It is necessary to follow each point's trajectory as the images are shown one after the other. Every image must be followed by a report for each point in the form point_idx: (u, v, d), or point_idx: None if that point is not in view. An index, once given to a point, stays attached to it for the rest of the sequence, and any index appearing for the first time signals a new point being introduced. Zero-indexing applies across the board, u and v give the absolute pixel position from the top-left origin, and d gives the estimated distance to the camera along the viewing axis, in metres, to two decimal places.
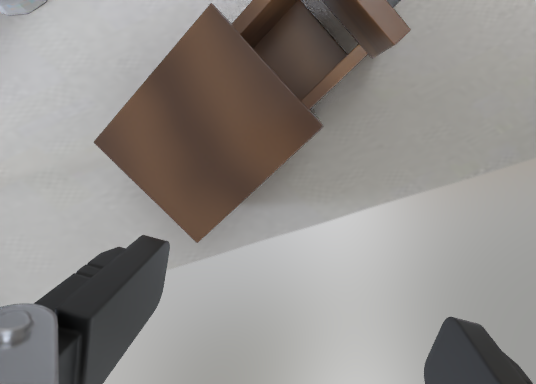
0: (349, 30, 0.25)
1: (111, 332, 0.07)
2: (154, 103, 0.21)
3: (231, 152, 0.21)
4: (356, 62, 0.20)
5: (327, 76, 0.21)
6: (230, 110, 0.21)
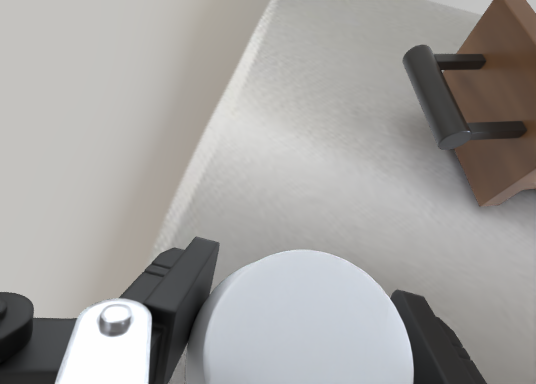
0: None
1: (182, 326, 0.08)
2: None
3: None
4: None
5: None
6: None
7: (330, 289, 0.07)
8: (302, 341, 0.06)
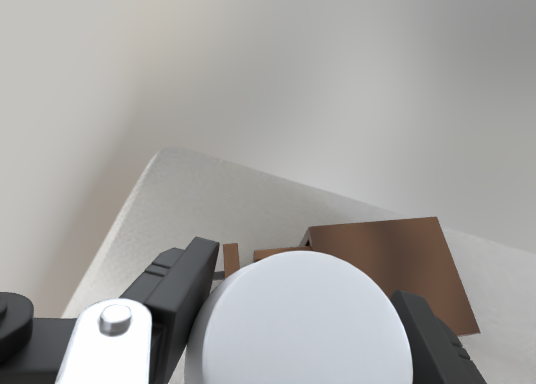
0: None
1: (182, 326, 0.08)
2: None
3: (377, 253, 0.28)
4: (263, 250, 0.28)
5: None
6: None
7: (329, 290, 0.07)
8: (301, 342, 0.06)
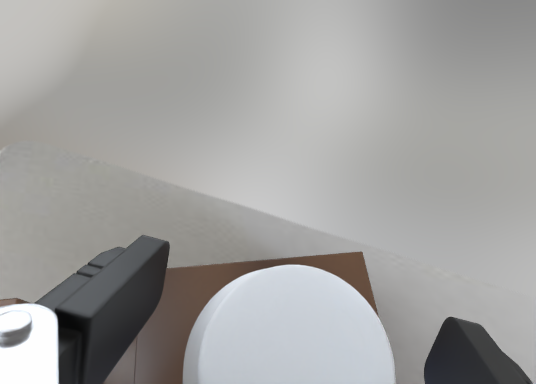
0: None
1: (111, 332, 0.07)
2: None
3: None
4: None
5: None
6: None
7: (318, 303, 0.07)
8: (291, 352, 0.07)
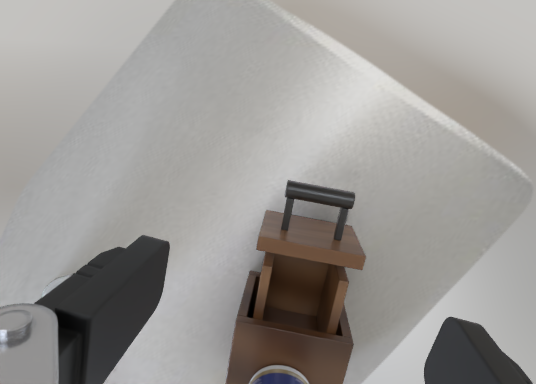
0: None
1: (111, 332, 0.07)
2: None
3: None
4: (345, 290, 0.27)
5: (333, 308, 0.27)
6: None
7: None
8: None
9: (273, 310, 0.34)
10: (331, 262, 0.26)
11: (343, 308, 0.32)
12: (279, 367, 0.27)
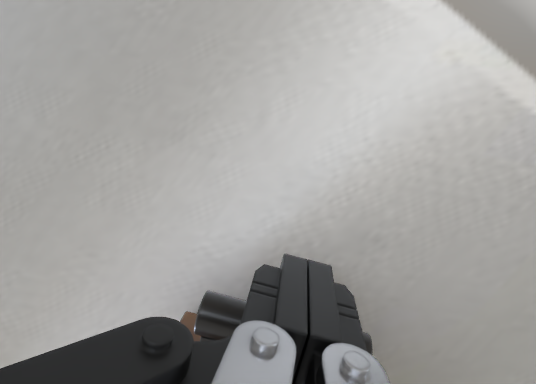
0: None
1: None
2: None
3: None
4: None
5: None
6: None
7: None
8: None
9: None
10: None
11: None
12: None
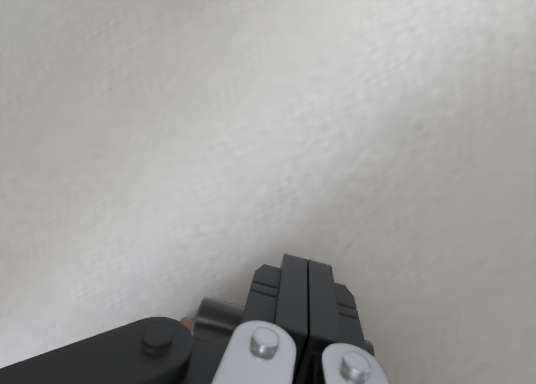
0: None
1: None
2: None
3: None
4: None
5: None
6: None
7: None
8: None
9: None
10: None
11: None
12: None
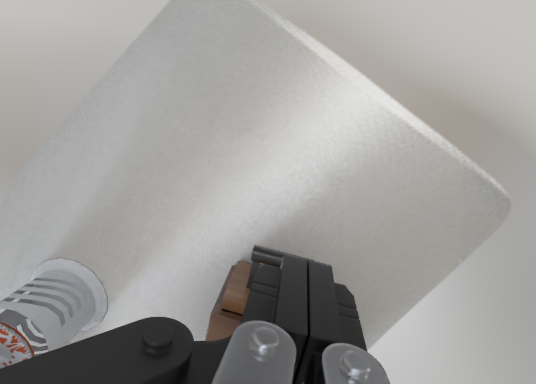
0: None
1: None
2: None
3: None
4: None
5: None
6: None
7: None
8: None
9: None
10: None
11: None
12: None
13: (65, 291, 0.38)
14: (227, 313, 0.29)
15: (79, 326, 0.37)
